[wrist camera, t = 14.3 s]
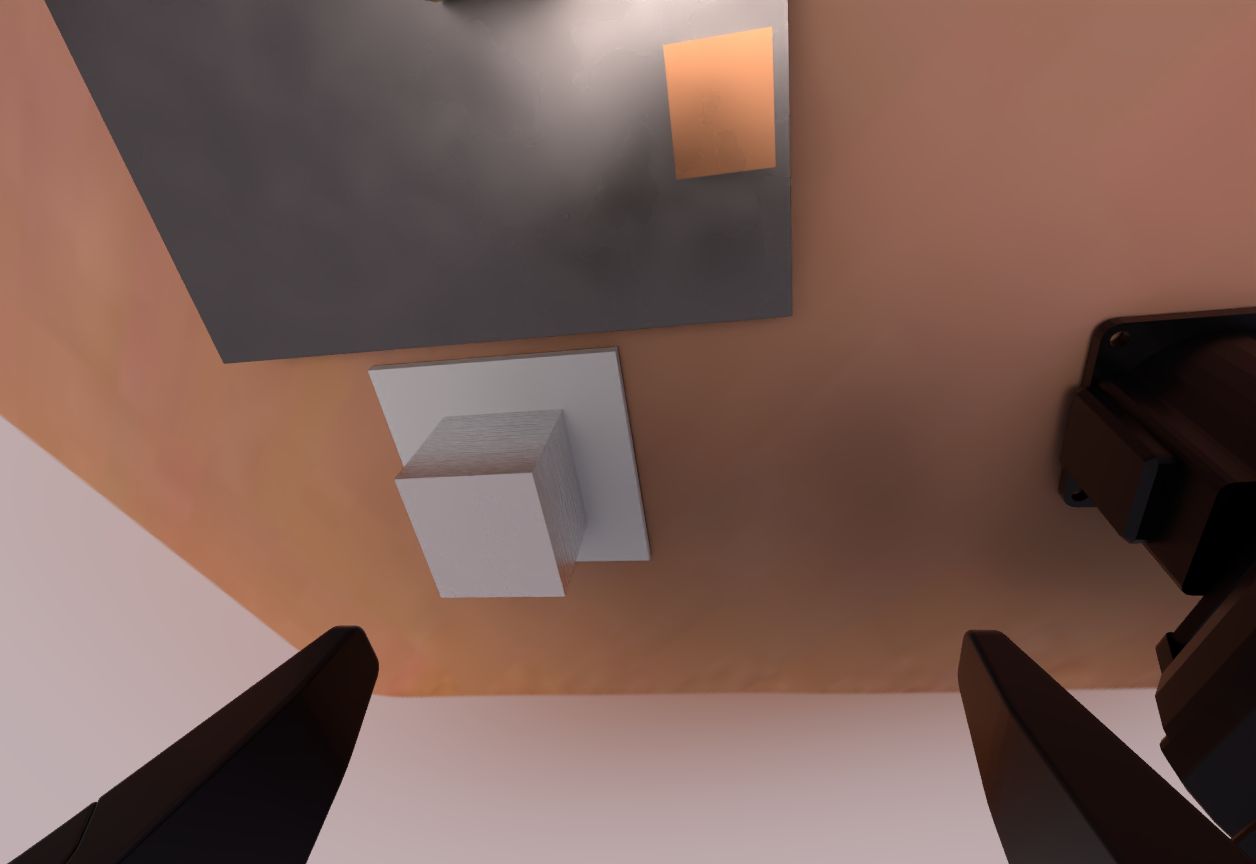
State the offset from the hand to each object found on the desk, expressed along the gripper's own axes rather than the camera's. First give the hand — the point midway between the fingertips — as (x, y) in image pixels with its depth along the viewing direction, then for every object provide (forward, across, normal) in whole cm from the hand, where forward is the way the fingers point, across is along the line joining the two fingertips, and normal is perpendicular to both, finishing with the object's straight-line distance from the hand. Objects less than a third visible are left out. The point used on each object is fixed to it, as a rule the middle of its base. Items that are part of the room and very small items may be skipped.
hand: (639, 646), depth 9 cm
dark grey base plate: (+13, +6, -6) cm, 16 cm away
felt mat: (+13, +7, +5) cm, 16 cm away
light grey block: (+13, +7, +5) cm, 15 cm away
